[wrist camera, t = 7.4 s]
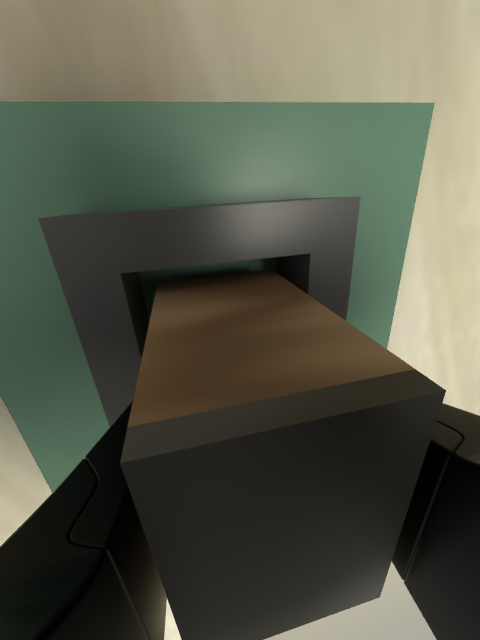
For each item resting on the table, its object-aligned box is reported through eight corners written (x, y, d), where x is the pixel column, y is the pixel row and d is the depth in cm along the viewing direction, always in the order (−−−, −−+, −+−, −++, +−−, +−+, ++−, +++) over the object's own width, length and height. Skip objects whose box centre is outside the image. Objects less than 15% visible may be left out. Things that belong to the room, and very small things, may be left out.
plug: (271, 269, 10) (445, 391, 3) (272, 391, 12) (379, 596, 6) (157, 282, 9) (119, 462, 3) (181, 409, 11) (191, 665, 5)
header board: (413, 110, 11) (528, 66, 7) (362, 411, 18) (410, 464, 14) (-118, 113, 8) (-362, 39, 4) (62, 479, 14) (25, 570, 11)
